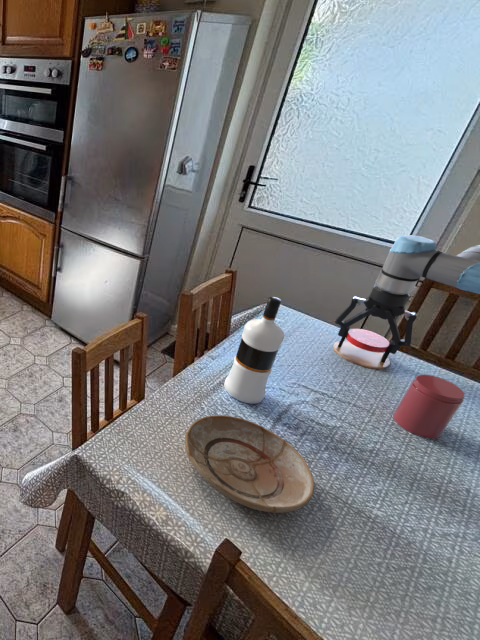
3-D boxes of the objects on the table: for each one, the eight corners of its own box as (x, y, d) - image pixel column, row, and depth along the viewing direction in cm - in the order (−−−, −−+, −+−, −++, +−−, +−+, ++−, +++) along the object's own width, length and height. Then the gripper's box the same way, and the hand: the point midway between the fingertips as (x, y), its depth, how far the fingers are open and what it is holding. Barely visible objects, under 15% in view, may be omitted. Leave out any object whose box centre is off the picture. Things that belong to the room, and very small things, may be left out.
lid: (337, 334, 128) (339, 329, 127) (365, 332, 128) (368, 327, 127) (365, 353, 119) (368, 348, 118) (396, 351, 120) (398, 346, 119)
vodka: (215, 386, 115) (243, 293, 102) (239, 377, 118) (270, 286, 105) (246, 409, 107) (281, 312, 94) (271, 399, 110) (308, 304, 97)
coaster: (391, 354, 125) (392, 353, 125) (387, 375, 117) (388, 373, 117) (336, 336, 134) (337, 335, 134) (329, 354, 126) (330, 353, 126)
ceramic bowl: (183, 416, 105) (187, 401, 103) (296, 451, 95) (303, 436, 93) (179, 492, 87) (183, 476, 85) (317, 546, 77) (327, 530, 75)
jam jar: (440, 424, 101) (466, 386, 96) (440, 444, 96) (467, 405, 91) (394, 406, 107) (415, 368, 102) (391, 424, 102) (413, 385, 96)
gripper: (449, 298, 111) (412, 363, 120) (344, 271, 125) (318, 332, 135) (449, 308, 106) (410, 376, 116) (340, 280, 120) (313, 342, 130)
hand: (361, 352), depth 125 cm, fingers closed on lid, 9 cm apart
